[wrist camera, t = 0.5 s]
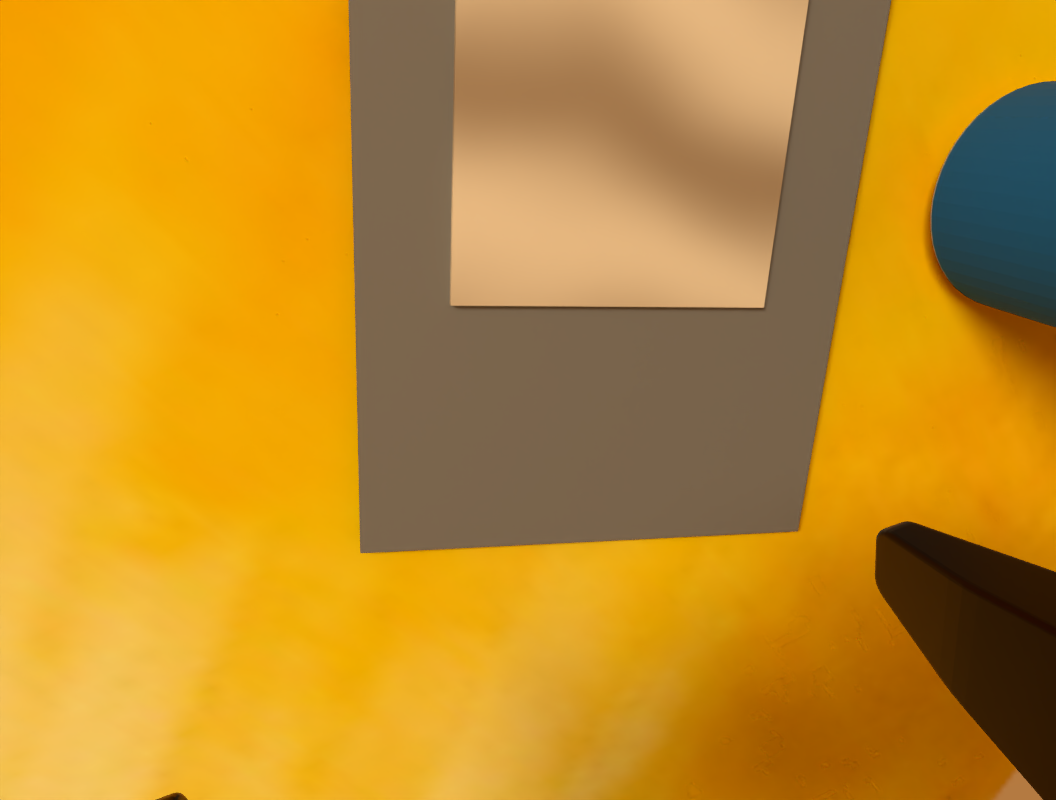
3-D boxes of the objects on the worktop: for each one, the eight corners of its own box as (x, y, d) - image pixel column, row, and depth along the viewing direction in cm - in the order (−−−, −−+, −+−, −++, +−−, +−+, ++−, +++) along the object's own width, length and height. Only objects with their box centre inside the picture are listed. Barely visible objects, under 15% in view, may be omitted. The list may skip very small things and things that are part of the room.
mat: (790, 523, 27) (802, 535, 26) (360, 545, 24) (360, 558, 24) (946, -385, 19) (969, -404, 19) (338, -500, 17) (337, -529, 16)
